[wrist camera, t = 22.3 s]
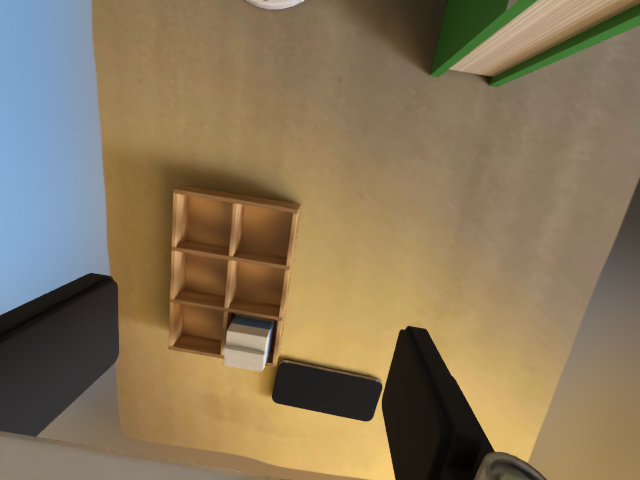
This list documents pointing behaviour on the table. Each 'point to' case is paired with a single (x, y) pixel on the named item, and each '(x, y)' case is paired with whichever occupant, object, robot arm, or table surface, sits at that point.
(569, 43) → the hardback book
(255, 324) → the milk carton
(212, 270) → the compartment tray
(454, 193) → the table surface
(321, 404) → the smartphone
